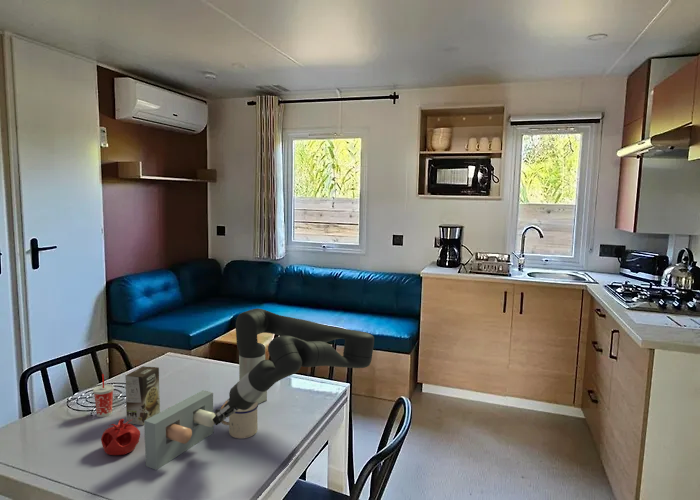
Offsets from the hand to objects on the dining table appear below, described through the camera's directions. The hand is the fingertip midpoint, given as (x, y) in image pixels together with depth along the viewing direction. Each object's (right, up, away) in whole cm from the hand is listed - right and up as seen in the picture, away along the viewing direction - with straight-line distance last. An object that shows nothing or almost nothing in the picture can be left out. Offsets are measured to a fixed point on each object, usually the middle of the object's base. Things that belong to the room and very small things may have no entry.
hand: (215, 421), depth 132 cm
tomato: (-27, -8, -1) cm, 28 cm away
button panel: (-10, -8, 0) cm, 13 cm away
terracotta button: (-9, -2, -7) cm, 11 cm away
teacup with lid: (+4, -7, +10) cm, 13 cm away
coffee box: (-29, -6, +17) cm, 34 cm away
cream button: (-4, -2, +2) cm, 5 cm away
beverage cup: (-43, -5, +20) cm, 48 cm away
